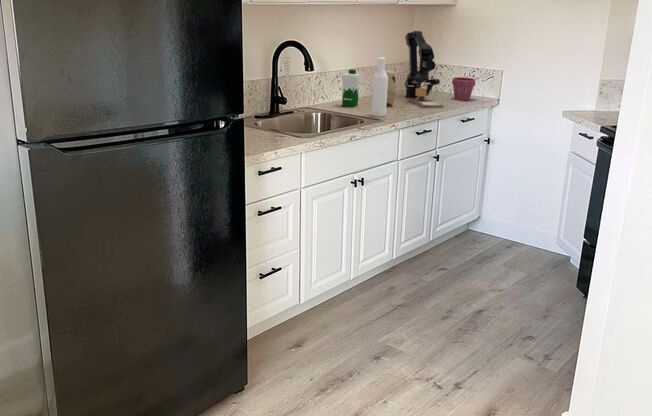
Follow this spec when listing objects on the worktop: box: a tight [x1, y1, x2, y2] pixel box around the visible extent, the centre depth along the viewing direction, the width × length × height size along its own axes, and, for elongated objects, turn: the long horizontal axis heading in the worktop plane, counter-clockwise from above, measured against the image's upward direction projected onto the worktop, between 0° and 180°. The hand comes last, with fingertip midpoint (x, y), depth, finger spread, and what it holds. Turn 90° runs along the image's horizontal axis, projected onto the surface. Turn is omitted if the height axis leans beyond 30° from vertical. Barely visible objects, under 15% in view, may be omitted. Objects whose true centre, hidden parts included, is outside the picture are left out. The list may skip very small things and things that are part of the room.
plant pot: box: [451, 76, 477, 101], centre depth 388 cm, size 14×14×13 cm
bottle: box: [370, 56, 388, 118], centre depth 328 cm, size 8×8×30 cm
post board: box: [408, 96, 444, 109], centre depth 368 cm, size 24×12×8 cm, turn 14°
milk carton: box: [341, 69, 360, 108], centre depth 354 cm, size 9×9×20 cm
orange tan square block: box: [416, 87, 430, 98], centre depth 373 cm, size 6×6×4 cm
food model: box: [385, 70, 397, 107], centre depth 359 cm, size 10×7×20 cm
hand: (422, 95), depth 374 cm, fingers closed on orange tan square block, 6 cm apart
